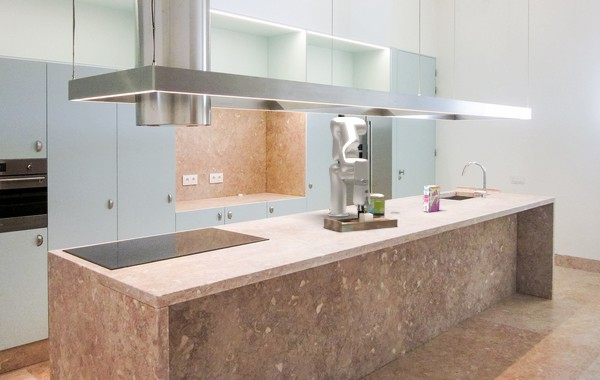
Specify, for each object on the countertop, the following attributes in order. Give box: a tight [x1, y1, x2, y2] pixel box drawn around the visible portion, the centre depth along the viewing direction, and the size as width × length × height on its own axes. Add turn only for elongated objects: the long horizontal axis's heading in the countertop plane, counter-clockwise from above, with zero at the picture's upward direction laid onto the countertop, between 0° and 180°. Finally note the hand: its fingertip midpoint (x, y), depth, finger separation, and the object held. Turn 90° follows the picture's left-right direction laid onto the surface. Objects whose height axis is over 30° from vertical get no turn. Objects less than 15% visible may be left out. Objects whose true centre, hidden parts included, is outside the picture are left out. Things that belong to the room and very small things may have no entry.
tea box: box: [364, 193, 386, 219], centre depth 292 cm, size 15×10×15 cm, turn 179°
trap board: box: [323, 216, 398, 233], centre depth 268 cm, size 16×35×5 cm, turn 117°
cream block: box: [359, 212, 373, 222], centre depth 264 cm, size 5×5×4 cm
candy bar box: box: [422, 185, 441, 213], centre depth 329 cm, size 11×5×16 cm, turn 130°
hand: (361, 218), depth 268 cm, fingers closed
